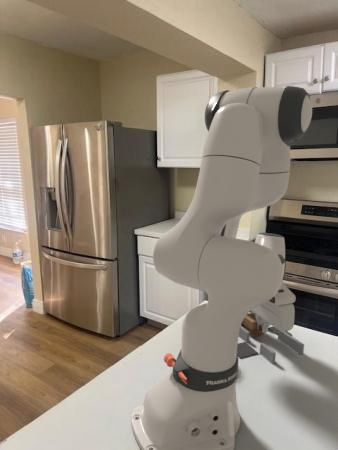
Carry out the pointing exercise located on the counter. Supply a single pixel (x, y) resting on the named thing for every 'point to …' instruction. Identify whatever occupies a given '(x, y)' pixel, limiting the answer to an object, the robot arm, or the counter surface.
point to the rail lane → (267, 351)
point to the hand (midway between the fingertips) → (262, 330)
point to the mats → (247, 350)
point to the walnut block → (251, 325)
